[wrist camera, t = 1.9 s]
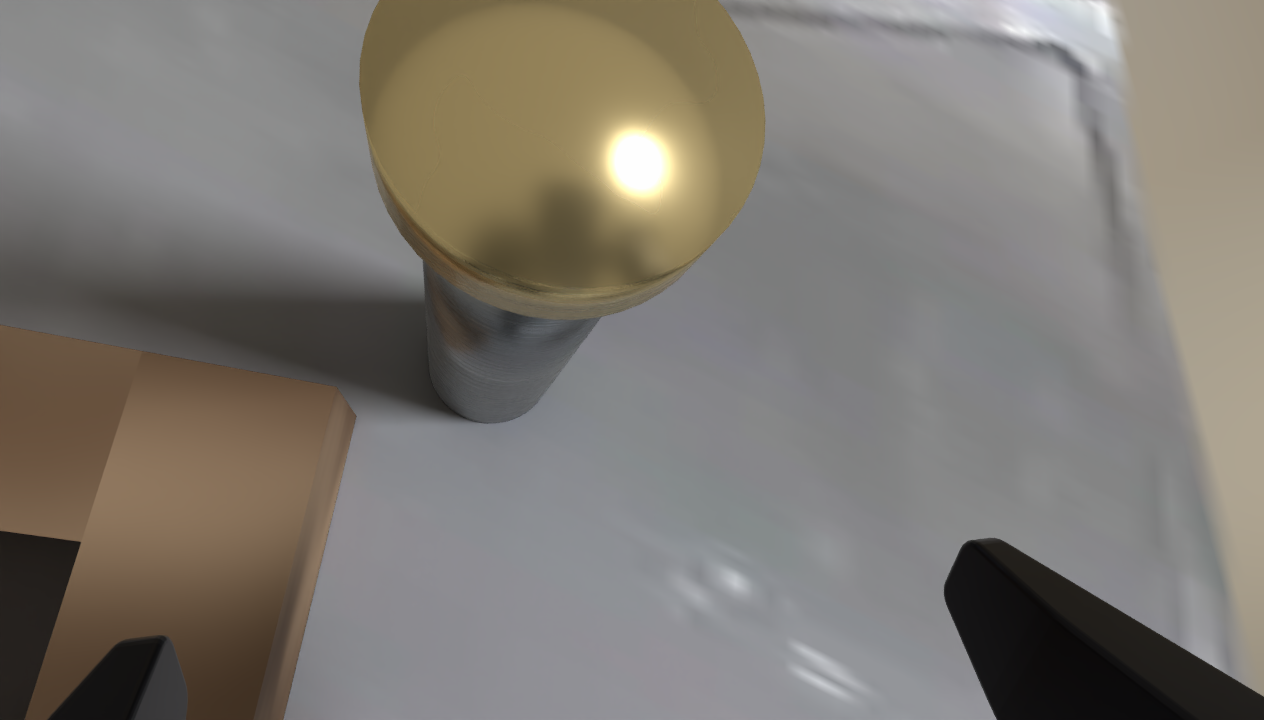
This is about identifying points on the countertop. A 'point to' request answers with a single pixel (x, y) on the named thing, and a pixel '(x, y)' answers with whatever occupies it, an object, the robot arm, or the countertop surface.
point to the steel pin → (552, 169)
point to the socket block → (172, 510)
